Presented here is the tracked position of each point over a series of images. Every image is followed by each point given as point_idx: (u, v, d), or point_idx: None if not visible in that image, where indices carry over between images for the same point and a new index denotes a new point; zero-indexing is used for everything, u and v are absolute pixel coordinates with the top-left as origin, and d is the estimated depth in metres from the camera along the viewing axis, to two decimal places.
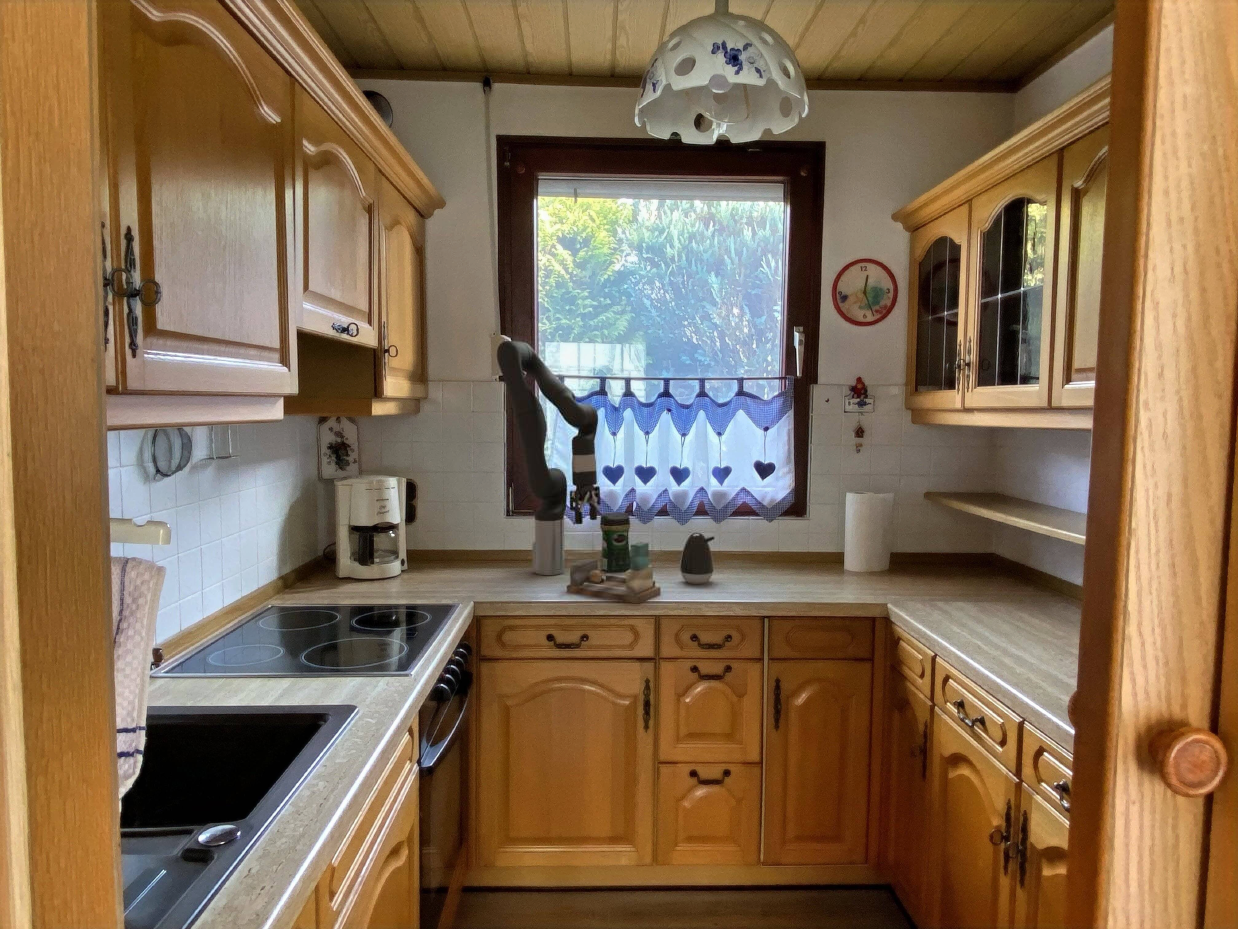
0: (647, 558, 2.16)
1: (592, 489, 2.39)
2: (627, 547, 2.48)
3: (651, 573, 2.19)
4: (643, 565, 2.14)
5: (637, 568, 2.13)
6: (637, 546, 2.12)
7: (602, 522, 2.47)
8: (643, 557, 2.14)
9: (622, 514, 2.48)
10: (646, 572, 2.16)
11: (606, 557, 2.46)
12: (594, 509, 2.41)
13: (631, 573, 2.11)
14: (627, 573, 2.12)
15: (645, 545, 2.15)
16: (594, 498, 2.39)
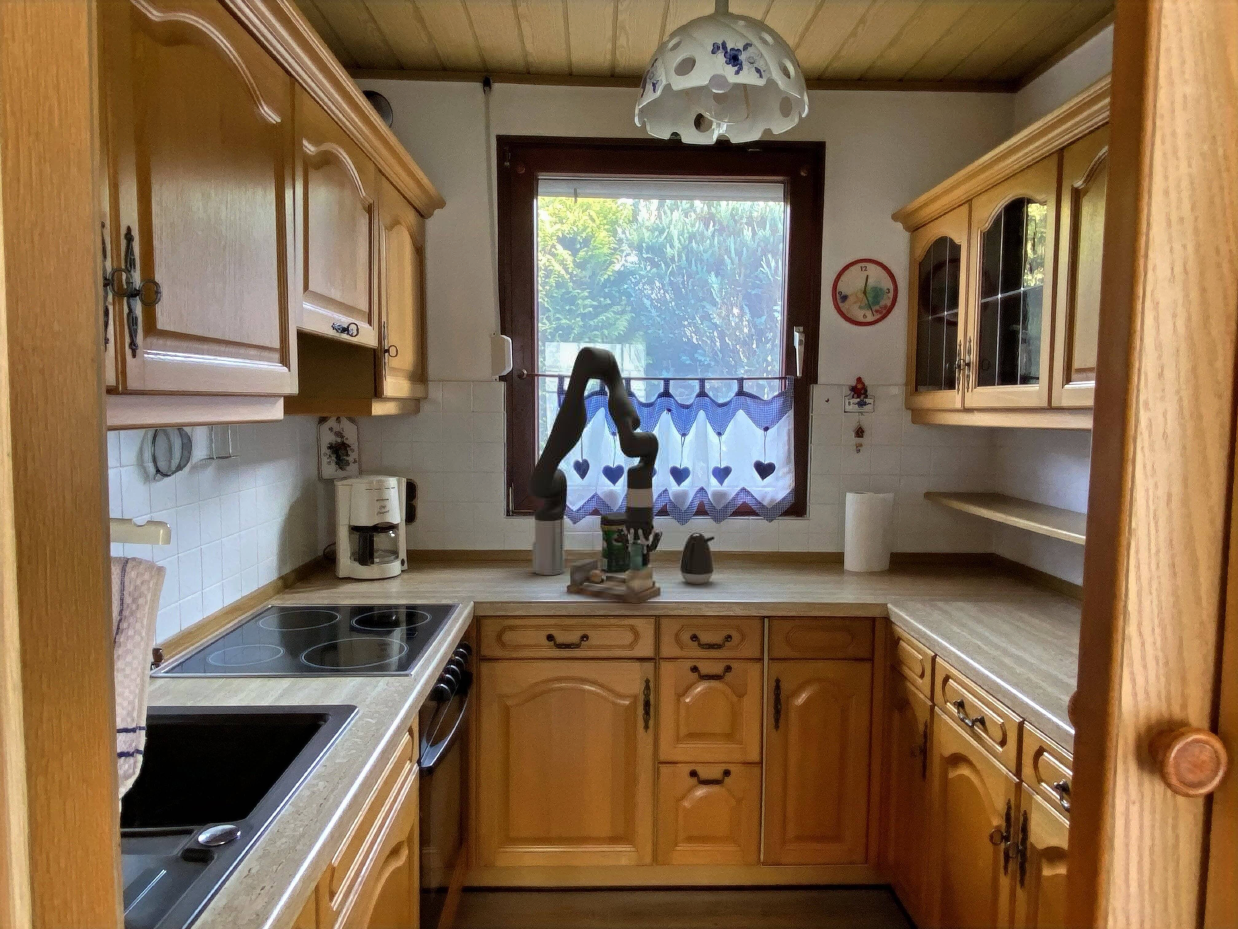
0: None
1: None
2: None
3: (651, 573, 2.19)
4: None
5: (637, 568, 2.13)
6: (637, 546, 2.12)
7: (602, 522, 2.47)
8: None
9: (622, 514, 2.48)
10: (646, 572, 2.16)
11: (606, 557, 2.46)
12: None
13: (631, 573, 2.11)
14: (627, 573, 2.12)
15: None
16: None
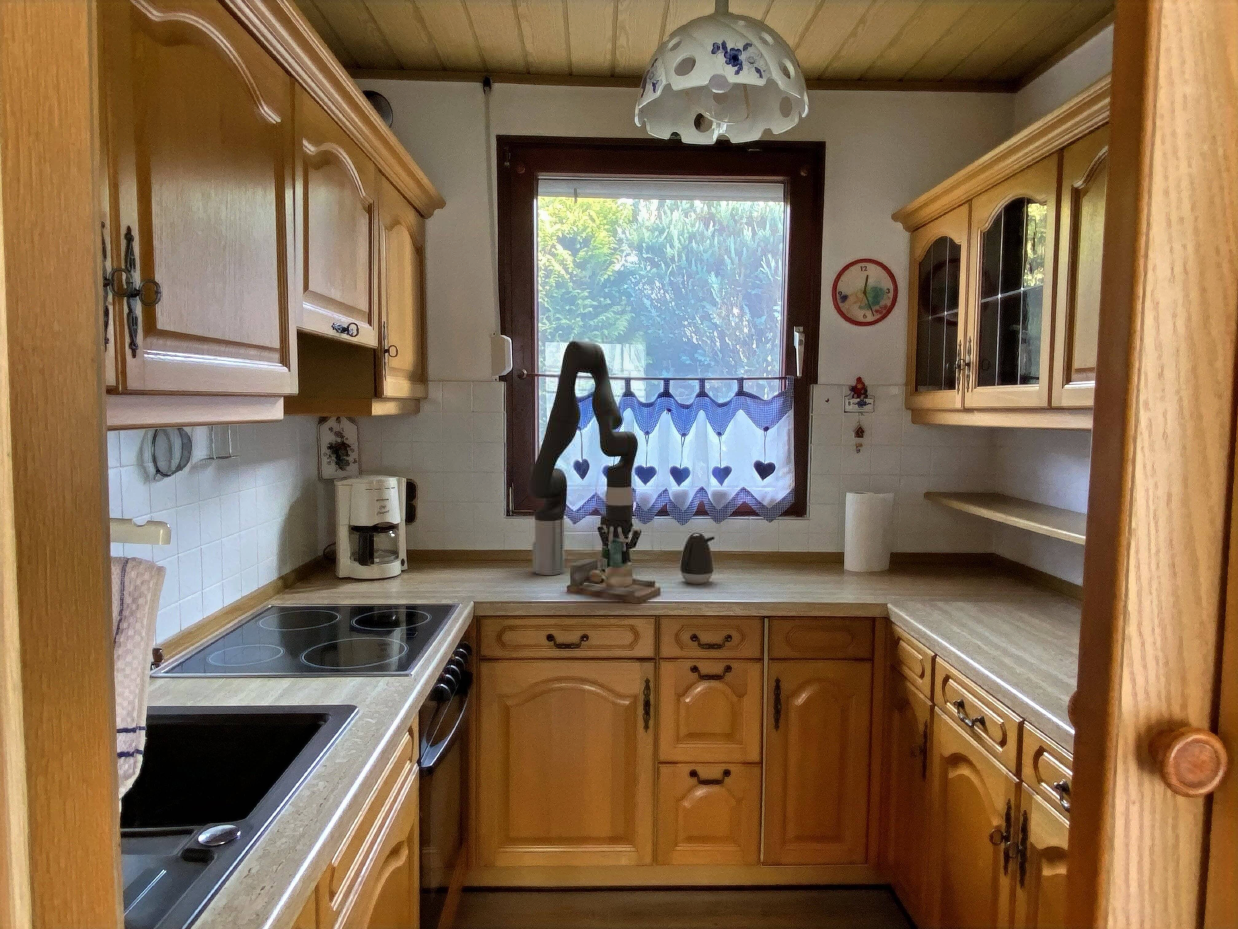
0: None
1: None
2: None
3: (631, 570, 2.22)
4: None
5: (616, 565, 2.16)
6: (616, 544, 2.16)
7: (602, 522, 2.47)
8: None
9: None
10: (626, 570, 2.20)
11: (606, 557, 2.46)
12: None
13: (610, 570, 2.14)
14: (606, 570, 2.15)
15: None
16: None
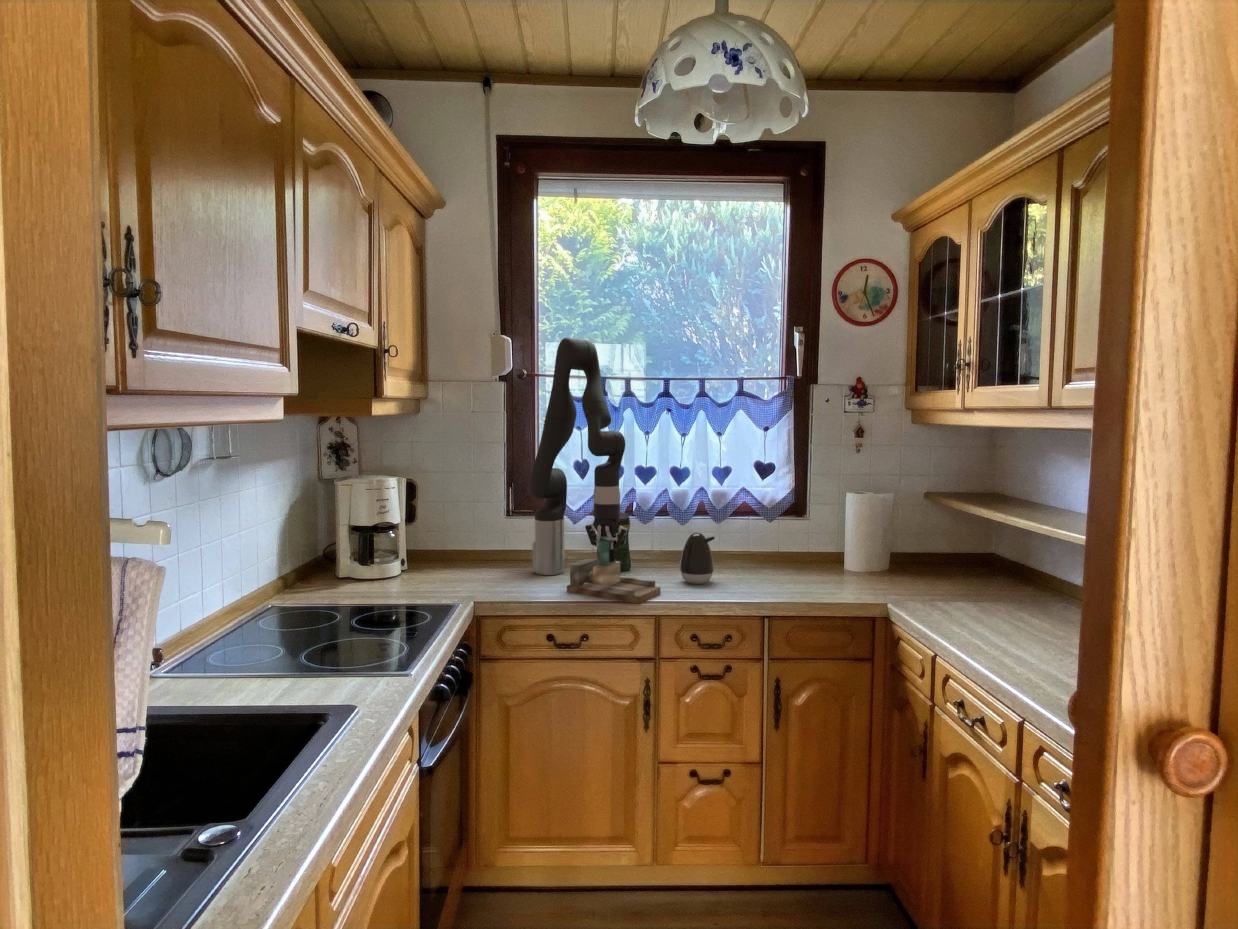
0: None
1: None
2: (627, 547, 2.48)
3: (619, 569, 2.24)
4: None
5: (604, 564, 2.18)
6: (604, 542, 2.18)
7: None
8: None
9: (622, 514, 2.48)
10: (614, 568, 2.22)
11: None
12: None
13: (598, 569, 2.17)
14: (594, 569, 2.17)
15: None
16: None
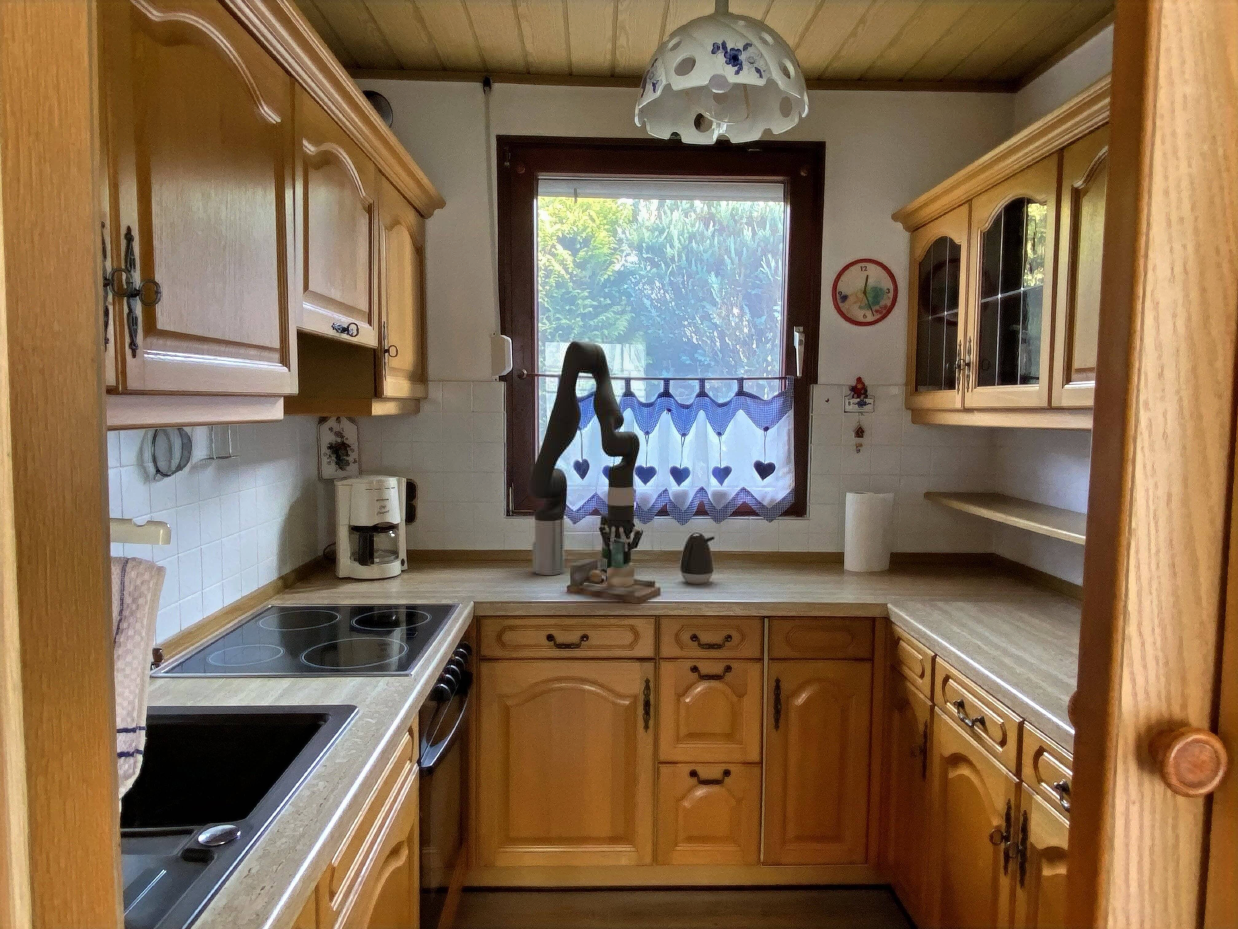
0: None
1: None
2: None
3: (632, 571, 2.22)
4: None
5: (618, 566, 2.16)
6: (618, 544, 2.15)
7: (602, 522, 2.47)
8: None
9: None
10: (628, 570, 2.19)
11: (606, 557, 2.46)
12: None
13: (612, 570, 2.14)
14: (608, 570, 2.15)
15: None
16: None
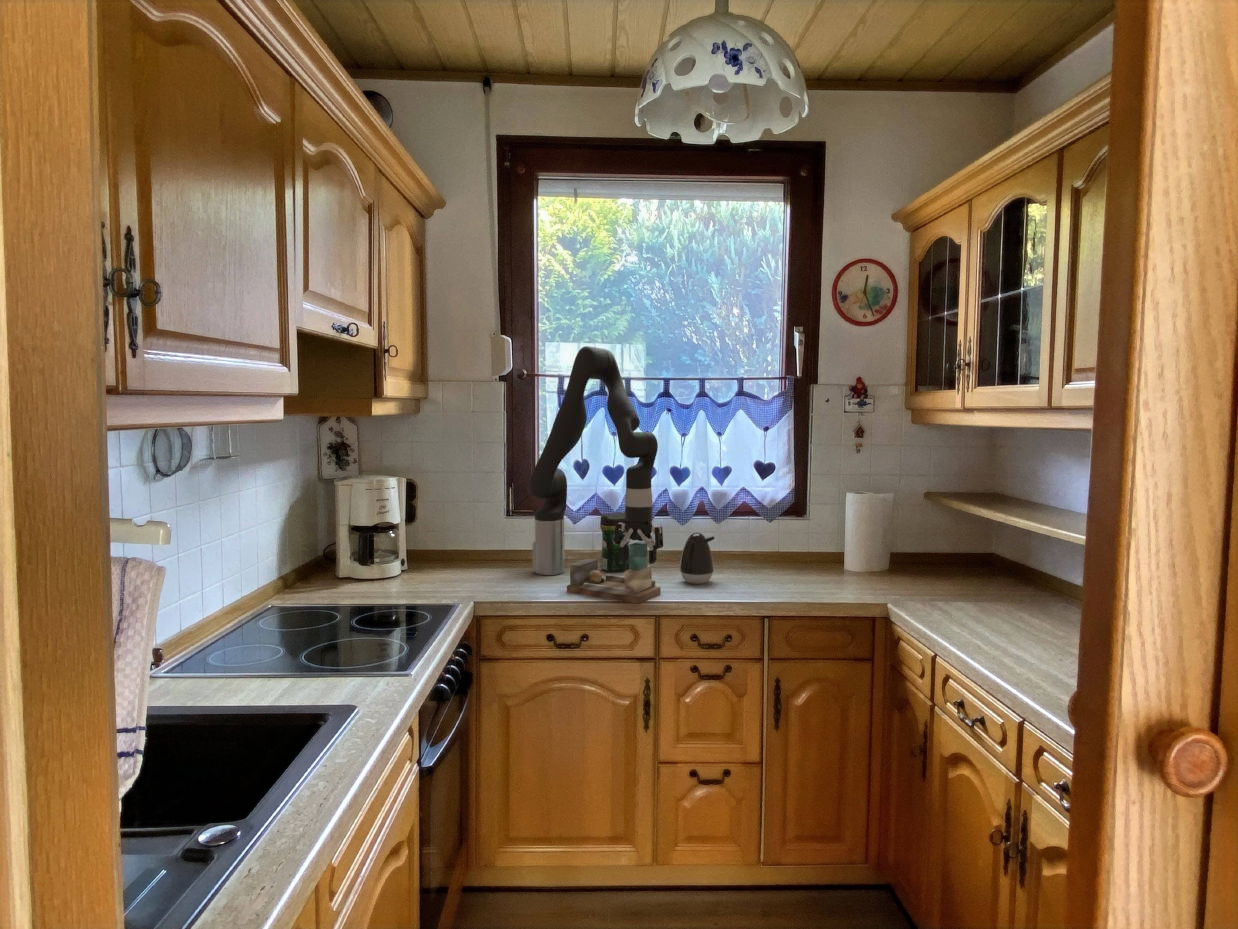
0: (646, 558, 2.16)
1: None
2: None
3: (650, 573, 2.19)
4: (642, 565, 2.15)
5: (636, 568, 2.13)
6: (636, 546, 2.13)
7: (602, 522, 2.47)
8: (642, 557, 2.14)
9: (622, 514, 2.48)
10: (645, 572, 2.16)
11: (606, 557, 2.46)
12: (627, 548, 2.18)
13: (630, 573, 2.11)
14: (626, 573, 2.12)
15: (644, 545, 2.15)
16: None
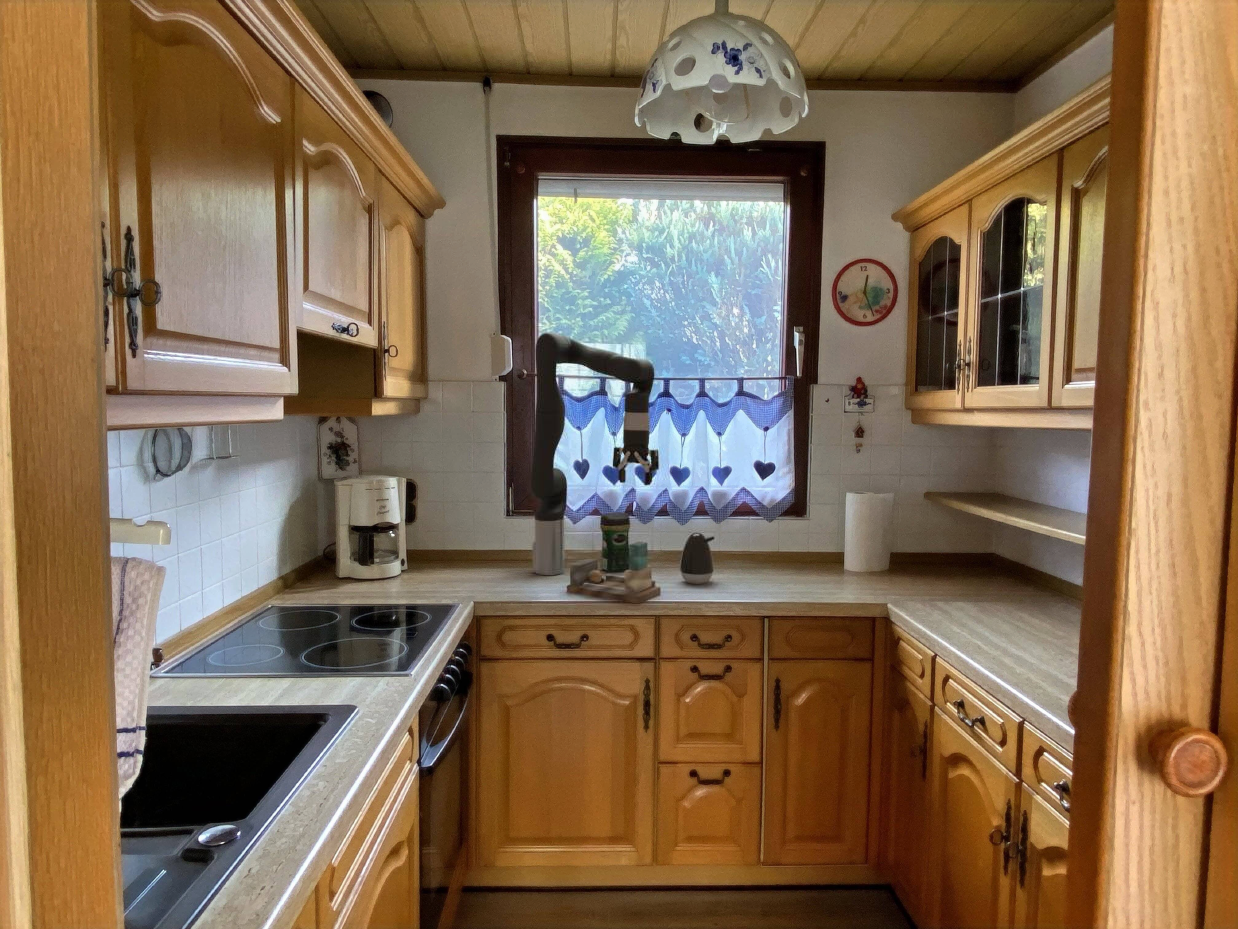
0: (646, 558, 2.16)
1: None
2: (627, 547, 2.48)
3: (650, 573, 2.19)
4: (642, 565, 2.15)
5: (636, 568, 2.13)
6: (636, 546, 2.13)
7: (602, 522, 2.47)
8: (642, 557, 2.14)
9: (622, 514, 2.48)
10: (645, 572, 2.16)
11: (606, 557, 2.46)
12: (624, 471, 2.28)
13: (630, 573, 2.11)
14: (626, 573, 2.12)
15: (644, 545, 2.15)
16: None
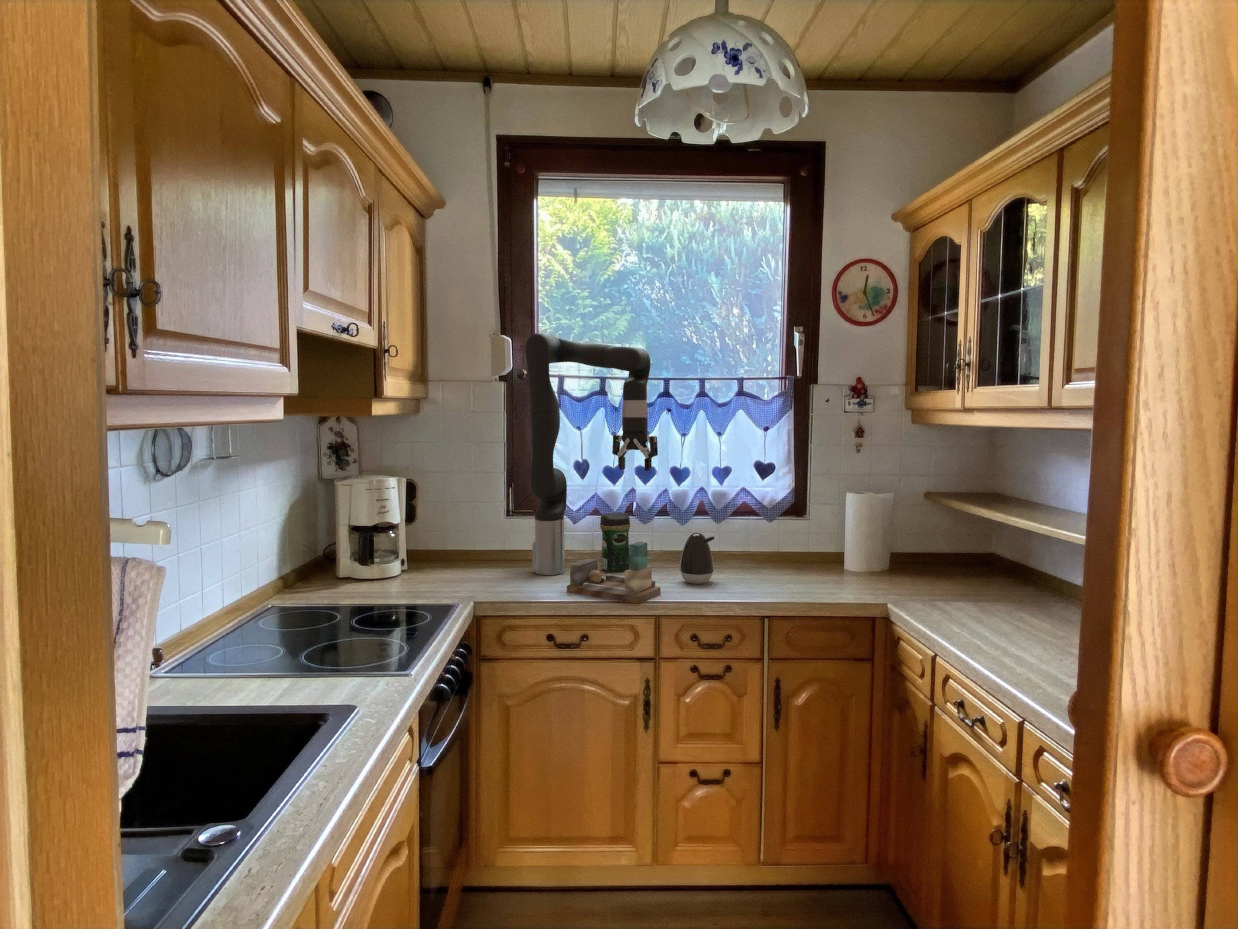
0: (646, 558, 2.16)
1: None
2: (627, 547, 2.48)
3: (650, 573, 2.19)
4: (642, 565, 2.15)
5: (636, 568, 2.13)
6: (636, 546, 2.13)
7: (602, 522, 2.47)
8: (642, 557, 2.14)
9: (622, 514, 2.48)
10: (645, 572, 2.16)
11: (606, 557, 2.46)
12: (624, 458, 2.32)
13: (630, 573, 2.11)
14: (626, 573, 2.12)
15: (644, 545, 2.15)
16: None
